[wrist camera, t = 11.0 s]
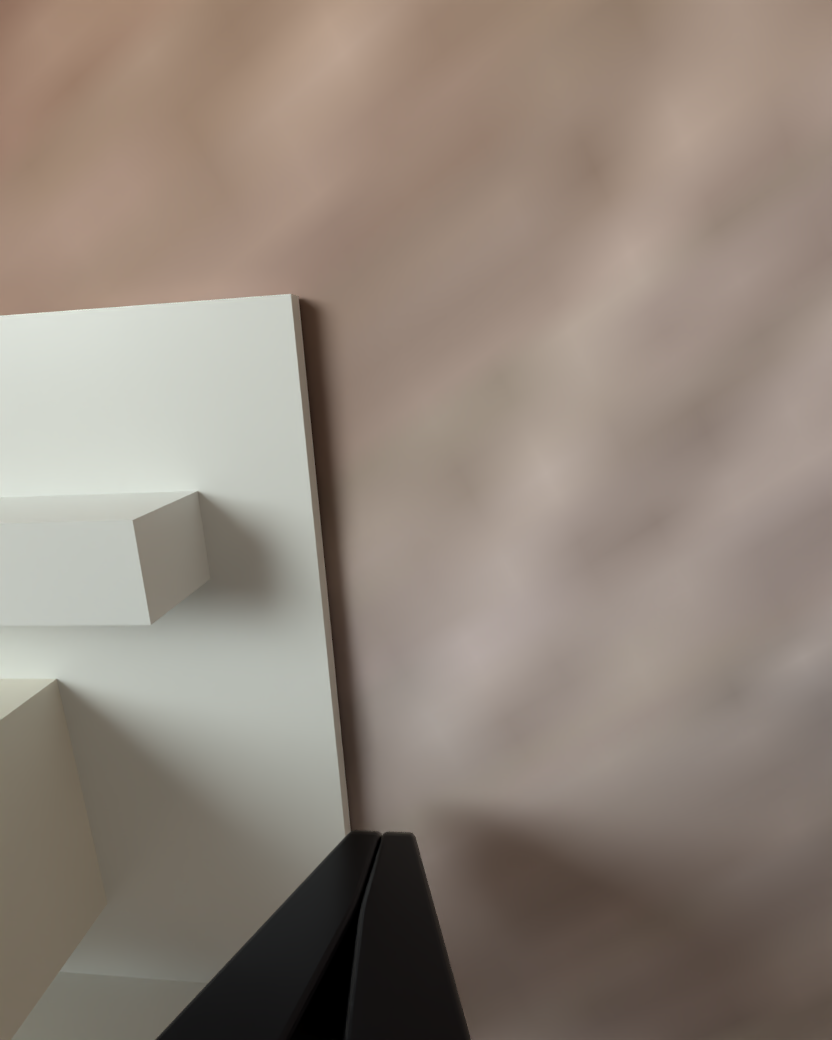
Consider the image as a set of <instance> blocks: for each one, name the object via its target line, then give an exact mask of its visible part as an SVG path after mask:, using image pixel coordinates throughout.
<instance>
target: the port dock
mask: <svg viewBox="0 0 832 1040" xmlns="http://www.w3.org/2000/svg"><path fill="white" fill-rule="evenodd" d="M0 679H57V683H58V687H59V692H60V696H61V700H62V705H63V709H64V714H65V718H66V723H67V727H68V731H69V736H70V740H71V745H72V749H73V753H74V758H75V762H76V767H77V771H78V776H79V780H80V784H81V789H82V793H83V798H84V802H85V806H86V811H87V815H88V820H89V824H90V829H91V833H92V837H93V842H94V846H95V851H96V855H97V859H98V864H99V868H100V873H101V877H102V881H103V886H104V890H105V895H106V899H107V905H106V906H105V908H104V909H103V911H102V912H101V913H100V915H99V916H98V918H97V919H96V920H95V922H94V923H93V925H92V926H91V928H90V929H89V930H88V932H87V933H86V935H85V936H84V937H83V939H82V940H81V942H80V943H79V945H78V946H77V947H76V949H75V950H74V952H73V953H72V954H71V956H70V957H69V959H68V960H67V961H66V963H65V964H64V966H63V967H62V969H61V970H60V971H59V973H58V974H57V976H56V977H55V978H54V980H53V981H52V983H51V984H50V985H49V987H48V988H47V990H46V991H45V993H44V994H43V995H42V997H41V998H40V1000H39V1001H38V1002H37V1004H36V1005H35V1007H34V1008H33V1009H32V1011H31V1012H30V1014H29V1015H28V1017H27V1018H26V1019H25V1021H24V1022H23V1024H22V1025H21V1026H20V1028H19V1029H18V1031H17V1032H16V1033H15V1035H14V1036H13V1038H12V1039H11V1040H155V1039H156V1038H157V1037H158V1036H159V1035H160V1034H161V1033H162V1032H163V1031H164V1030H165V1029H166V1028H167V1026H168V1025H169V1024H170V1023H171V1022H172V1021H173V1020H174V1019H175V1018H176V1017H177V1016H178V1015H179V1014H180V1013H181V1011H182V1010H183V1009H184V1008H185V1007H186V1006H187V1005H188V1004H189V1003H190V1002H191V1001H192V1000H193V999H194V998H195V997H196V995H197V994H198V993H199V992H200V991H201V990H202V989H203V988H204V987H205V986H206V985H207V984H208V983H209V982H210V980H211V979H212V978H213V977H214V976H215V975H216V974H217V973H218V972H219V971H220V970H221V969H222V968H223V967H224V966H225V964H226V963H227V962H228V961H229V960H230V959H231V958H232V957H233V956H234V955H235V954H236V953H237V952H238V951H239V949H240V948H241V947H242V946H243V945H244V944H245V943H246V942H247V941H248V940H249V939H250V938H251V937H252V936H253V935H254V933H255V932H256V931H257V930H258V929H259V928H260V927H261V926H262V925H263V924H264V923H265V922H266V921H267V920H268V918H269V917H270V916H271V915H272V914H273V913H274V912H275V911H276V910H277V909H278V908H279V907H280V906H281V905H282V904H283V902H284V901H285V900H286V899H287V898H288V897H289V896H290V895H291V894H292V893H293V892H294V891H295V890H296V889H297V887H298V886H299V885H300V884H301V883H302V882H303V881H304V880H305V879H306V878H307V877H308V876H309V875H310V874H311V873H312V871H313V870H314V869H315V868H316V867H317V866H318V865H319V864H320V863H321V862H322V861H323V860H324V859H325V858H326V856H327V855H328V854H329V853H330V852H331V851H332V850H333V849H334V848H335V847H336V846H337V845H338V844H339V843H340V842H341V840H342V839H343V838H344V837H345V836H346V835H347V834H348V833H349V832H351V828H350V817H349V807H348V797H347V787H346V776H345V766H344V756H343V746H342V736H341V725H340V715H339V705H338V695H337V684H336V674H335V664H334V654H333V644H332V633H331V623H330V613H329V603H328V592H327V582H326V572H325V562H324V551H323V541H322V531H321V521H320V511H319V500H318V490H317V480H316V470H315V459H314V449H313V439H312V429H311V419H310V408H309V398H308V388H307V378H306V367H305V357H304V347H303V337H302V327H301V316H300V306H299V296H296V295H293V294H283V295H270V296H257V297H244V298H230V299H217V300H204V301H190V302H177V303H164V304H151V305H137V306H124V307H111V308H97V309H84V310H71V311H57V312H44V313H31V314H18V315H4V316H0Z"/></svg>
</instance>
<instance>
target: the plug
mask: <svg viewBox="0 0 832 1040" xmlns="http://www.w3.org/2000/svg"><path fill="white" fill-rule="evenodd" d="M106 905H107V899H106V895H105V890H104V886H103V881H102V877H101V873H100V868H99V864H98V859H97V855H96V851H95V846H94V842H93V837H92V833H91V829H90V824H89V820H88V815H87V811H86V806H85V802H84V798H83V793H82V789H81V784H80V780H79V776H78V771H77V767H76V762H75V758H74V753H73V749H72V745H71V740H70V736H69V731H68V727H67V723H66V718H65V714H64V709H63V705H62V700H61V696H60V692H59V687H58V683H57V679H0V1040H11V1039H12V1038H13V1036H14V1035H15V1033H16V1032H17V1031H18V1029H19V1028H20V1026H21V1025H22V1024H23V1022H24V1021H25V1019H26V1018H27V1017H28V1015H29V1014H30V1012H31V1011H32V1009H33V1008H34V1007H35V1005H36V1004H37V1002H38V1001H39V1000H40V998H41V997H42V995H43V994H44V993H45V991H46V990H47V988H48V987H49V985H50V984H51V983H52V981H53V980H54V978H55V977H56V976H57V974H58V973H59V971H60V970H61V969H62V967H63V966H64V964H65V963H66V961H67V960H68V959H69V957H70V956H71V954H72V953H73V952H74V950H75V949H76V947H77V946H78V945H79V943H80V942H81V940H82V939H83V937H84V936H85V935H86V933H87V932H88V930H89V929H90V928H91V926H92V925H93V923H94V922H95V920H96V919H97V918H98V916H99V915H100V913H101V912H102V911H103V909H104V908H105V906H106Z"/></svg>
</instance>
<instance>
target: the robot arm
mask: <svg viewBox="0 0 832 1040" xmlns="http://www.w3.org/2000/svg"><path fill="white" fill-rule="evenodd" d="M155 1040H471V1038H470V1035H469V1031H468V1028H467V1024H466V1020H465V1017H464V1013H463V1009H462V1006H461V1002H460V998H459V995H458V991H457V987H456V984H455V980H454V976H453V973H452V969H451V965H450V962H449V958H448V954H447V951H446V947H445V943H444V940H443V936H442V932H441V929H440V925H439V921H438V918H437V914H436V911H435V907H434V903H433V900H432V896H431V892H430V889H429V885H428V881H427V878H426V874H425V870H424V867H423V863H422V859H421V856H420V852H419V848H418V845H417V841H416V838H415V836H414V834H412V833H409V832H386V833H384V834H383V836H382V834H381V833H380V832H378V831H362V830H354V831H351V832H349V833H348V834H347V835H346V836H345V837H344V838H343V839H342V840H341V842H340V843H339V844H338V845H337V846H336V847H335V848H334V849H333V850H332V851H331V852H330V853H329V854H328V855H327V856H326V858H325V859H324V860H323V861H322V862H321V863H320V864H319V865H318V866H317V867H316V868H315V869H314V870H313V871H312V873H311V874H310V875H309V876H308V877H307V878H306V879H305V880H304V881H303V882H302V883H301V884H300V885H299V886H298V887H297V889H296V890H295V891H294V892H293V893H292V894H291V895H290V896H289V897H288V898H287V899H286V900H285V901H284V902H283V904H282V905H281V906H280V907H279V908H278V909H277V910H276V911H275V912H274V913H273V914H272V915H271V916H270V917H269V918H268V920H267V921H266V922H265V923H264V924H263V925H262V926H261V927H260V928H259V929H258V930H257V931H256V932H255V933H254V935H253V936H252V937H251V938H250V939H249V940H248V941H247V942H246V943H245V944H244V945H243V946H242V947H241V948H240V949H239V951H238V952H237V953H236V954H235V955H234V956H233V957H232V958H231V959H230V960H229V961H228V962H227V963H226V964H225V966H224V967H223V968H222V969H221V970H220V971H219V972H218V973H217V974H216V975H215V976H214V977H213V978H212V979H211V980H210V982H209V983H208V984H207V985H206V986H205V987H204V988H203V989H202V990H201V991H200V992H199V993H198V994H197V995H196V997H195V998H194V999H193V1000H192V1001H191V1002H190V1003H189V1004H188V1005H187V1006H186V1007H185V1008H184V1009H183V1010H182V1011H181V1013H180V1014H179V1015H178V1016H177V1017H176V1018H175V1019H174V1020H173V1021H172V1022H171V1023H170V1024H169V1025H168V1026H167V1028H166V1029H165V1030H164V1031H163V1032H162V1033H161V1034H160V1035H159V1036H158V1037H157V1038H156V1039H155Z"/></svg>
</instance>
